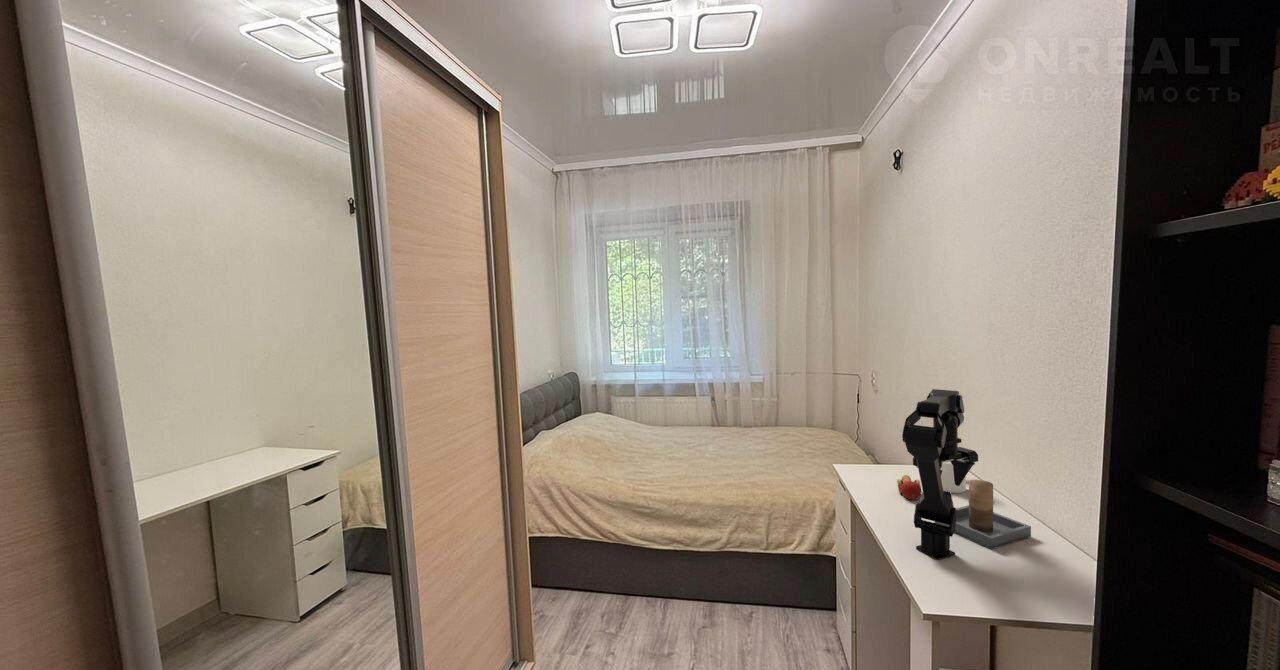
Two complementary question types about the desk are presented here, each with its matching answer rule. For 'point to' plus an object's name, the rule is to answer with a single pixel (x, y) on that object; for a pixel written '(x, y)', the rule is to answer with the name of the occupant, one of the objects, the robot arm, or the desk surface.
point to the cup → (951, 479)
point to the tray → (1000, 536)
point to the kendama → (909, 487)
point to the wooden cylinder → (981, 505)
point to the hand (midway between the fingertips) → (945, 488)
